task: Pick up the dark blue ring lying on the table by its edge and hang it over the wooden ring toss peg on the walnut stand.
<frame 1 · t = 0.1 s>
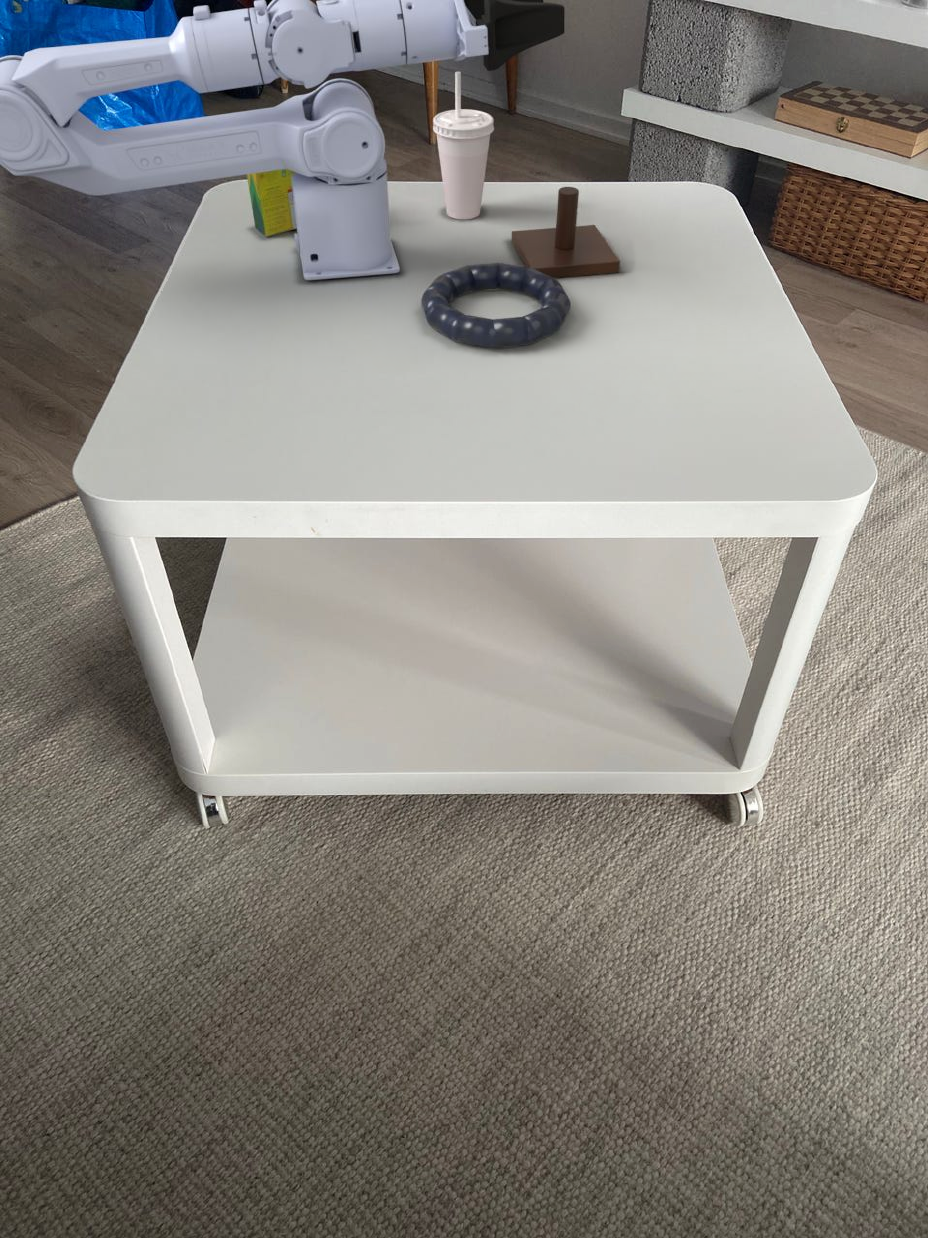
hand: (552, 7, 86), 22 cm above the table, tool horizontal, fingers open, 7 cm apart
crayon box: (290, 227, 105), on the table
smoothie: (463, 214, 108), on the table
wooden ring toss peg: (563, 256, 99), on the table
dark blue ring: (495, 303, 90), point 1 cm above the table
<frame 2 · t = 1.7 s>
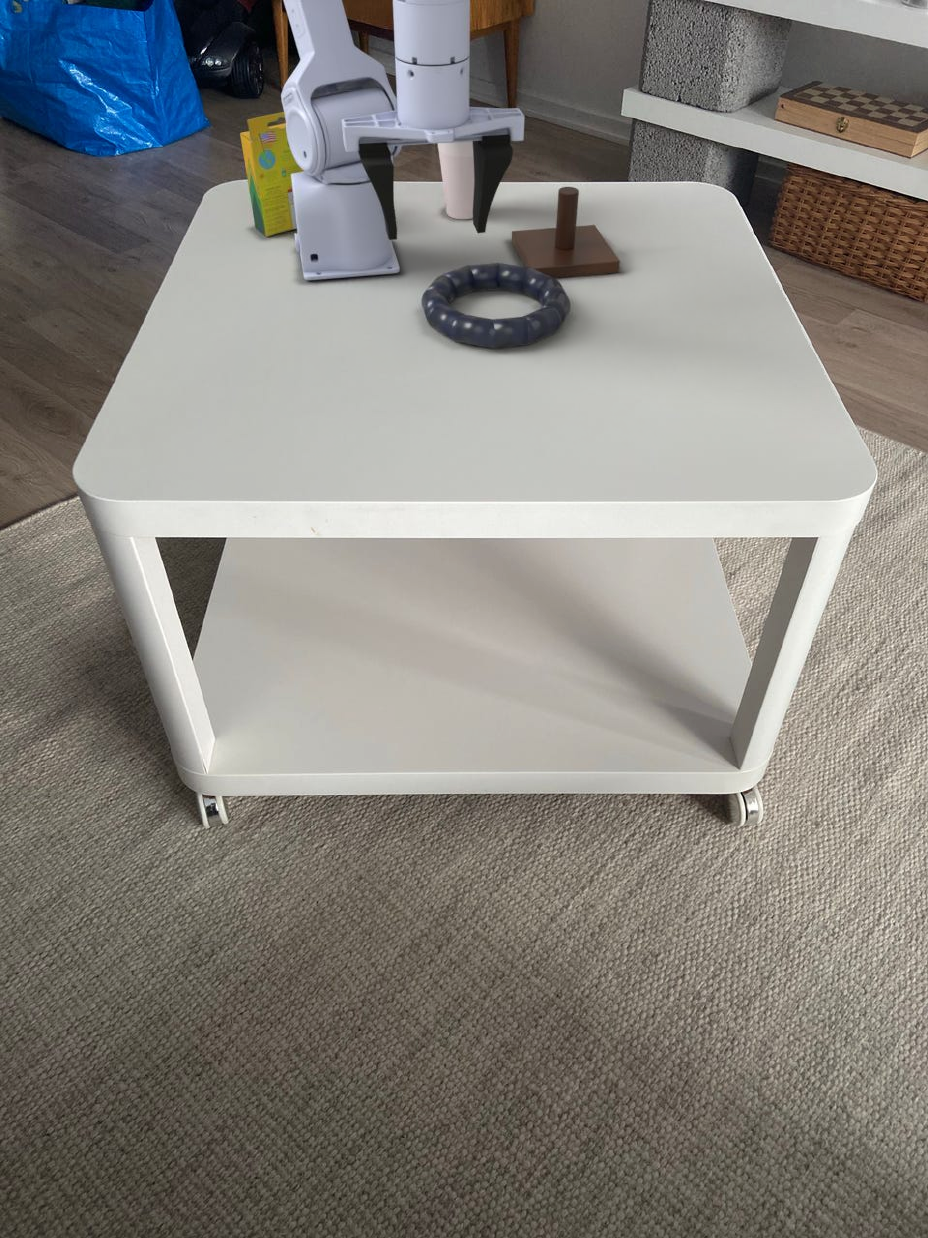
hand: (435, 231, 84), 8 cm above the table, tool pointing down, fingers open, 7 cm apart
nothing on the table moved.
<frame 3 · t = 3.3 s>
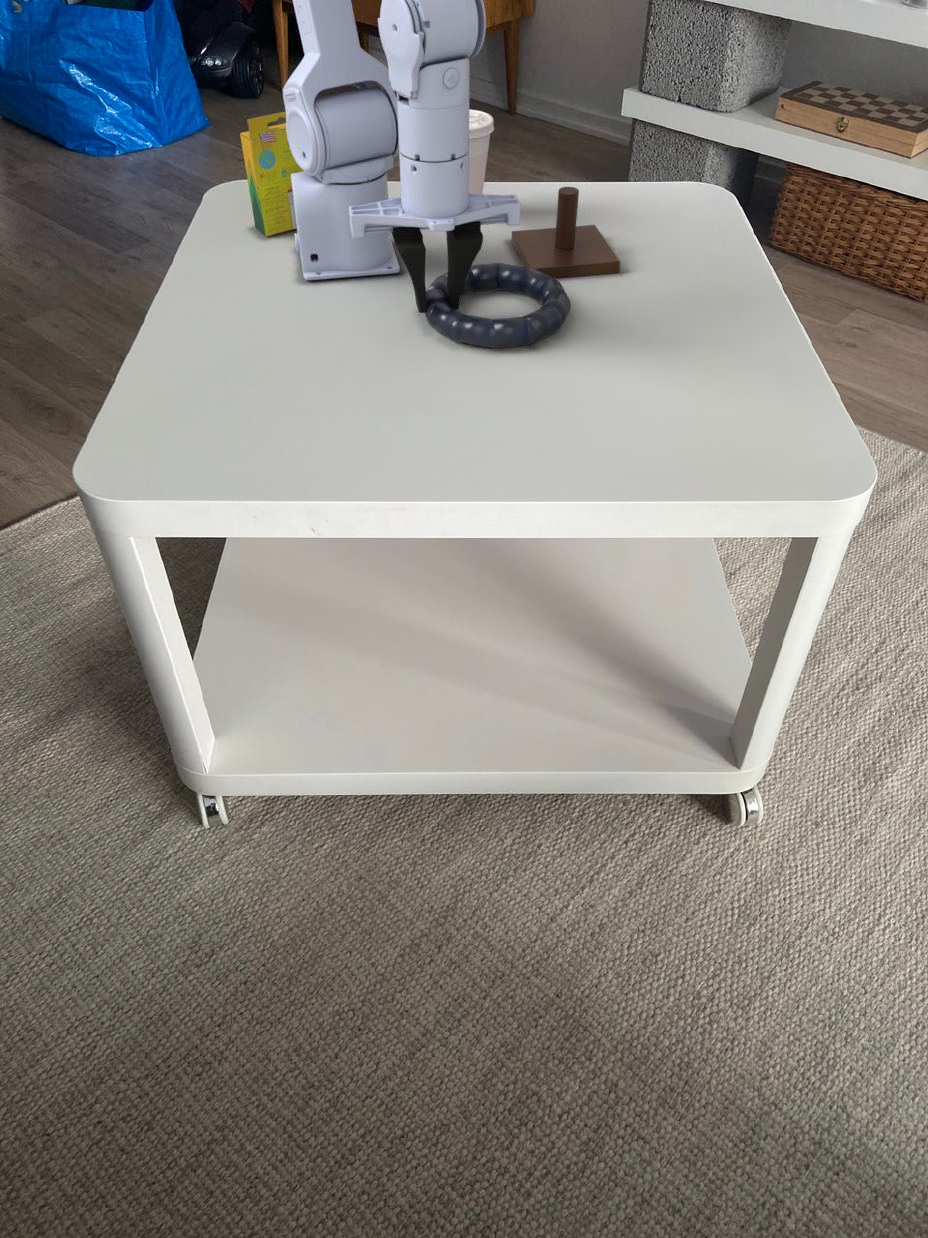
hand: (437, 306, 89), 1 cm above the table, tool pointing down, fingers closed on dark blue ring, 2 cm apart
dark blue ring: (496, 303, 90), point 1 cm above the table, touching gripper
everything else where it was.
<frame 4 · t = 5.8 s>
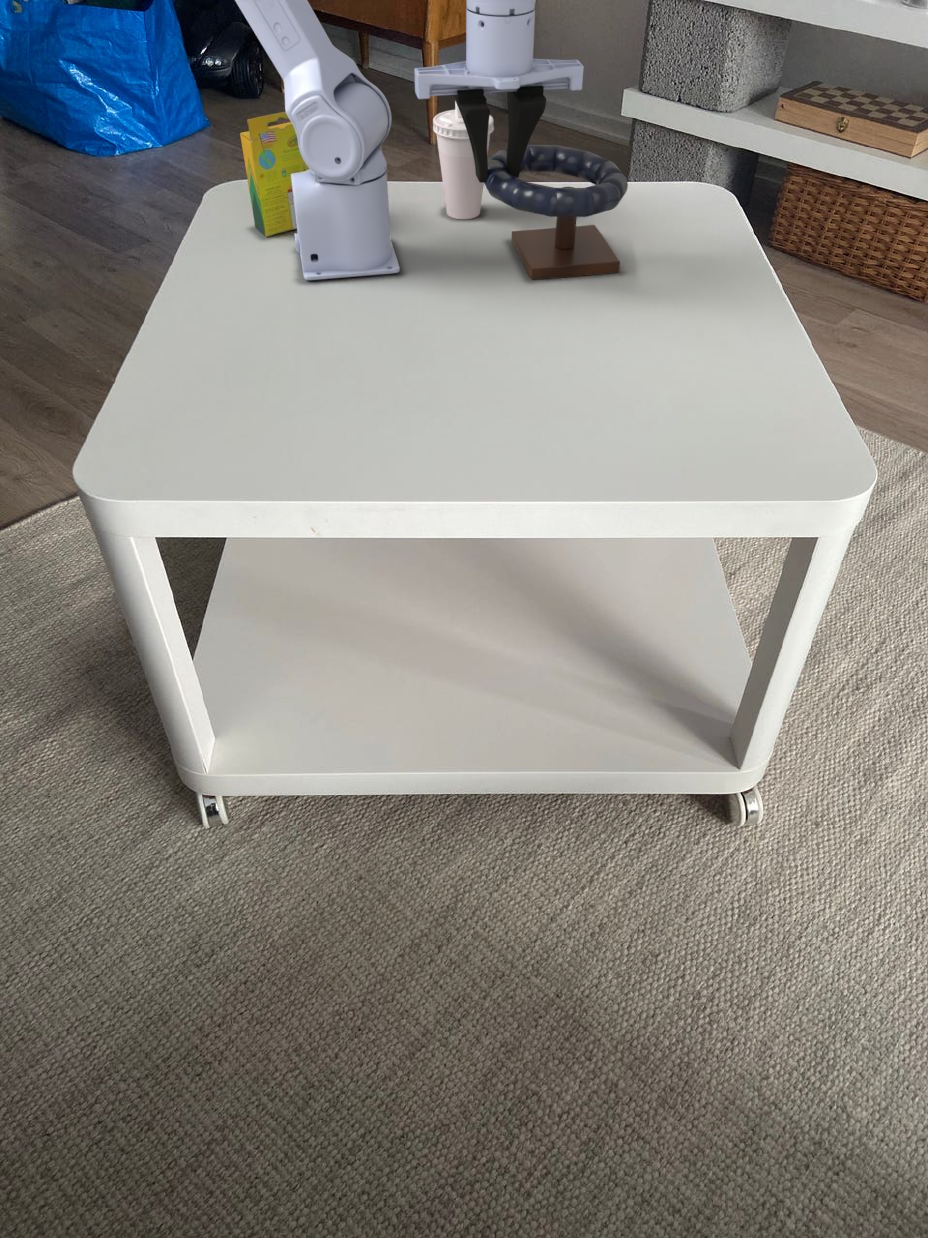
hand: (496, 177, 90), 9 cm above the table, tool pointing down, fingers closed on dark blue ring, 2 cm apart
dark blue ring: (554, 179, 91), point 9 cm above the table, touching gripper
everything else where it was.
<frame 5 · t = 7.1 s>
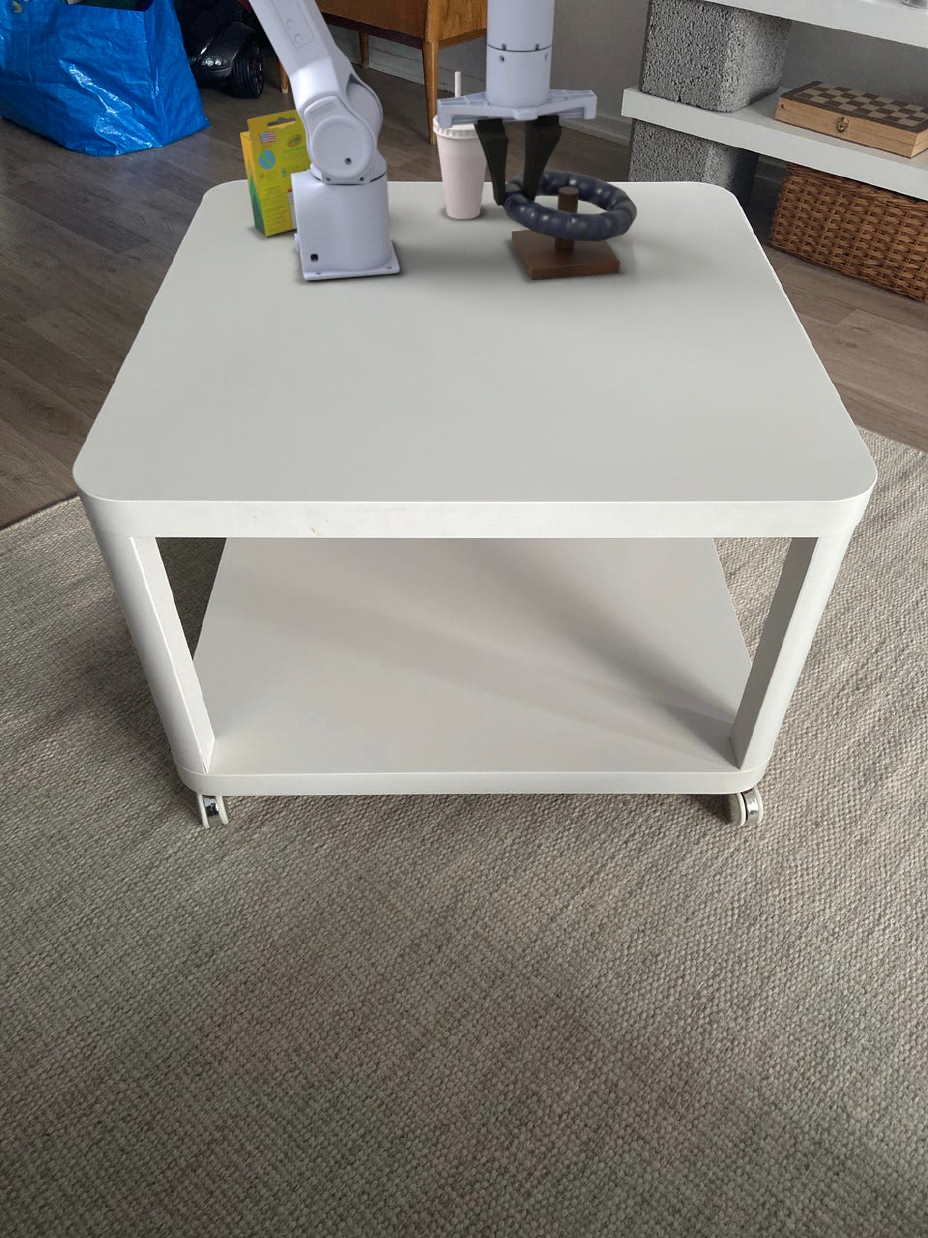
hand: (513, 200, 94), 6 cm above the table, tool pointing down, fingers closed on dark blue ring, 2 cm apart
dark blue ring: (567, 204, 96), point 5 cm above the table, tilted 7°, touching gripper
everything else where it was.
when the fingers open (4 cm above the table, at t = 8.1 s): dark blue ring stays where it is, resting on wooden ring toss peg.
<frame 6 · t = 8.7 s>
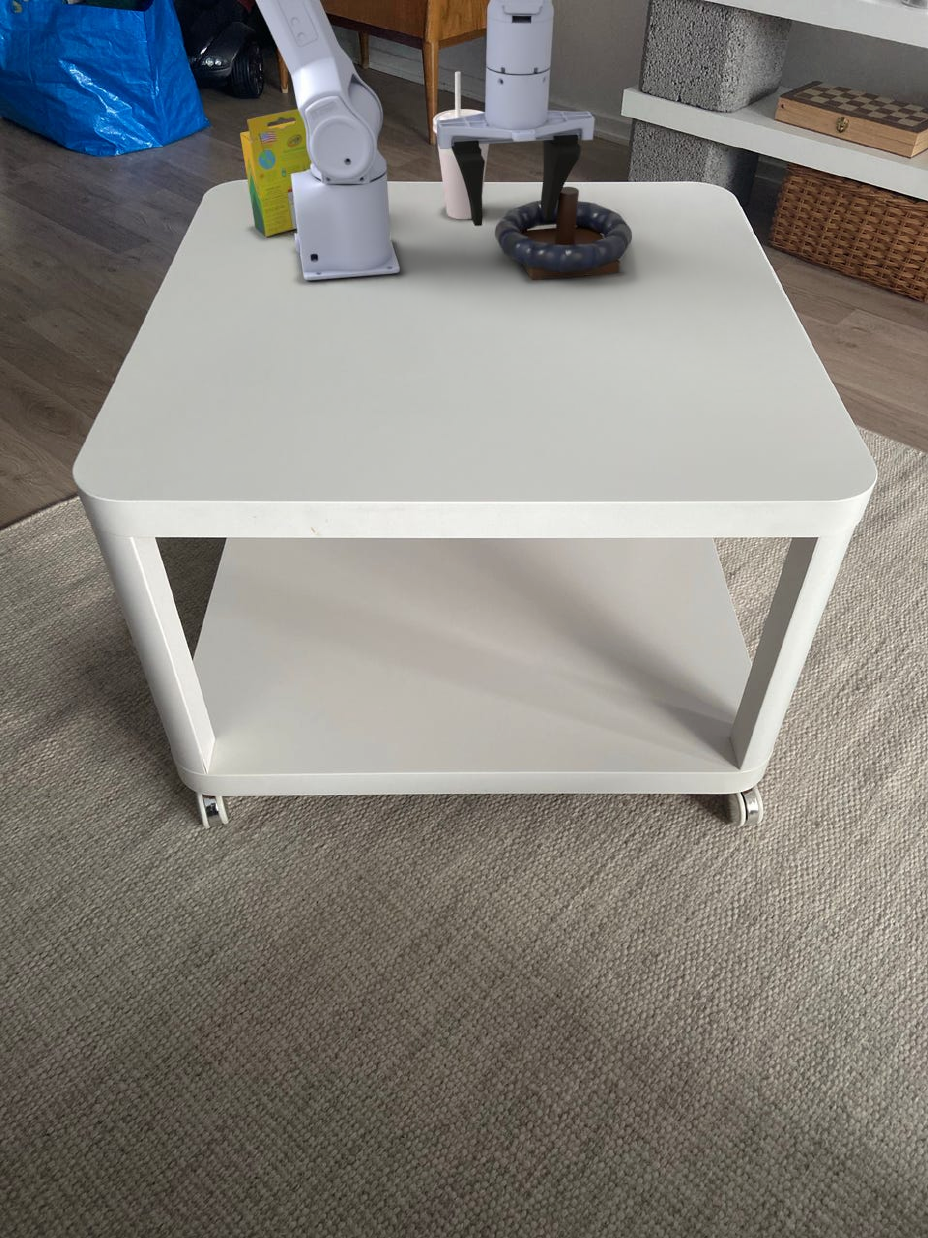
hand: (512, 219, 96), 4 cm above the table, tool pointing down, fingers open, 6 cm apart
dark blue ring: (563, 234, 98), point 2 cm above the table, touching wooden ring toss peg
everything else where it was.
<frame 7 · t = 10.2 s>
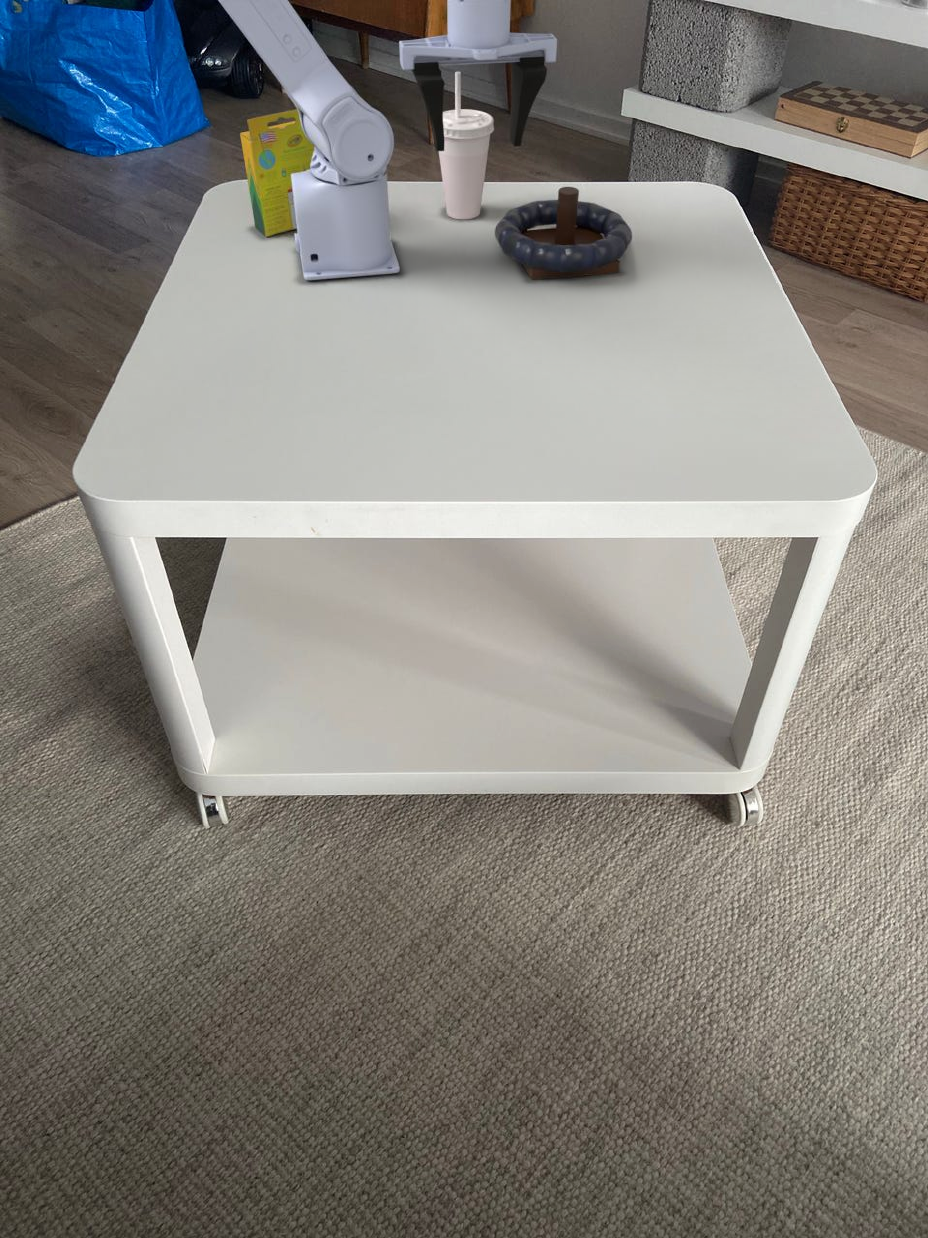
hand: (477, 145, 96), 9 cm above the table, tool pointing down, fingers open, 7 cm apart
nothing on the table moved.
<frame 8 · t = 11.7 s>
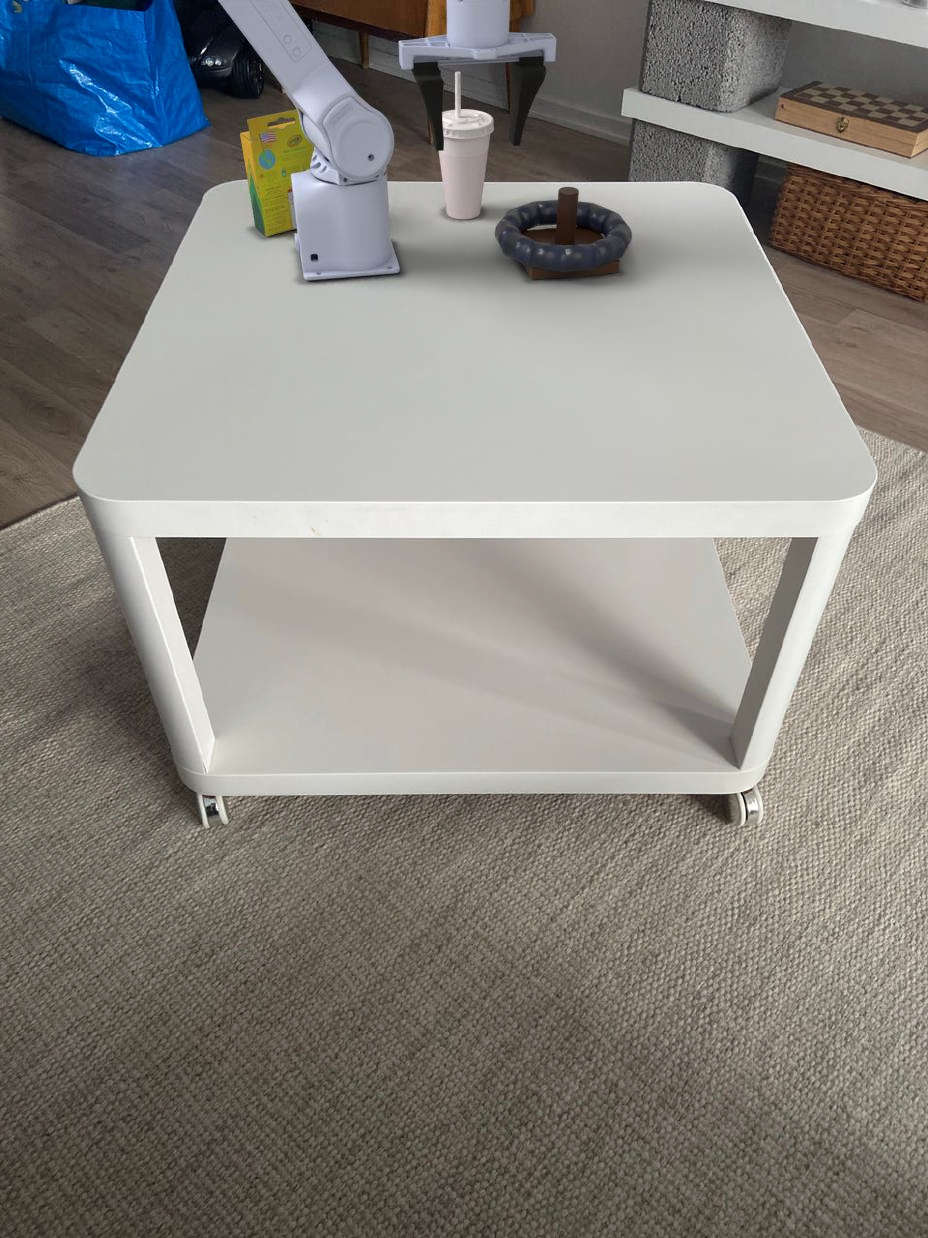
hand: (476, 144, 96), 9 cm above the table, tool pointing down, fingers open, 7 cm apart
nothing on the table moved.
at the end: dark blue ring 0.3 cm from the wooden ring toss peg (horizontally); dark blue ring point 2.4 cm above the table; the gripper is holding nothing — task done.
